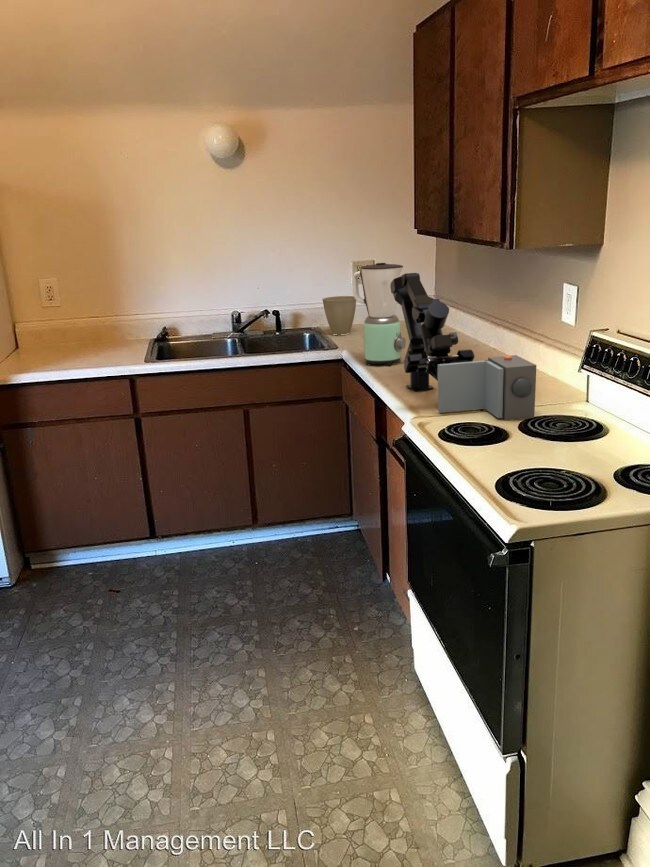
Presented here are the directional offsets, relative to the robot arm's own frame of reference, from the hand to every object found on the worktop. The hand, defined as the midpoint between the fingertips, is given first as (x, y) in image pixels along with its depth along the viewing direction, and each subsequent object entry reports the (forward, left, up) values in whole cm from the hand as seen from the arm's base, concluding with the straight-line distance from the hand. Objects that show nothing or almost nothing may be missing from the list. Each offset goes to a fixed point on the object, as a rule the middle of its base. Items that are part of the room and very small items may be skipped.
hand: (445, 387), depth 194 cm
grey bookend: (+7, +3, -6) cm, 10 cm away
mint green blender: (-65, +8, -7) cm, 66 cm away
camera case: (+10, +14, -7) cm, 19 cm away
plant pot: (-127, +15, -7) cm, 128 cm away
